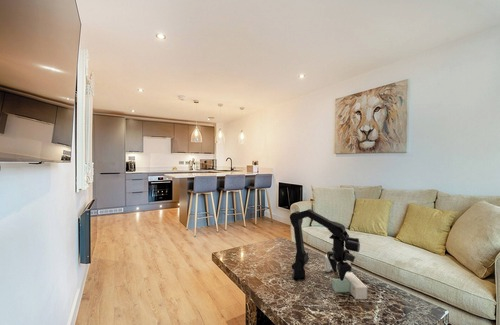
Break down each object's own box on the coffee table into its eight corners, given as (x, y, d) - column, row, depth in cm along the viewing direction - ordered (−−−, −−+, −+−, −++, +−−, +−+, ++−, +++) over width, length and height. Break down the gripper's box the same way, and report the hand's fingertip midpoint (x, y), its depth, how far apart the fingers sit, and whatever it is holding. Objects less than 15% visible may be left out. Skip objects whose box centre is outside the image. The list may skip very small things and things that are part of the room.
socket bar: (355, 299, 117) (355, 287, 117) (341, 282, 133) (341, 272, 133) (367, 299, 118) (367, 287, 118) (351, 282, 134) (352, 272, 134)
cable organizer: (339, 279, 137) (340, 259, 137) (323, 272, 145) (324, 254, 145) (350, 271, 148) (351, 253, 148) (335, 265, 155) (335, 248, 155)
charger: (335, 292, 123) (335, 283, 123) (332, 287, 127) (332, 278, 127) (354, 292, 123) (354, 282, 123) (350, 287, 128) (350, 278, 128)
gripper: (362, 254, 116) (361, 285, 116) (345, 241, 135) (344, 268, 135) (340, 254, 116) (339, 285, 116) (326, 241, 134) (326, 268, 134)
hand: (338, 276), depth 125 cm, fingers open, 9 cm apart
